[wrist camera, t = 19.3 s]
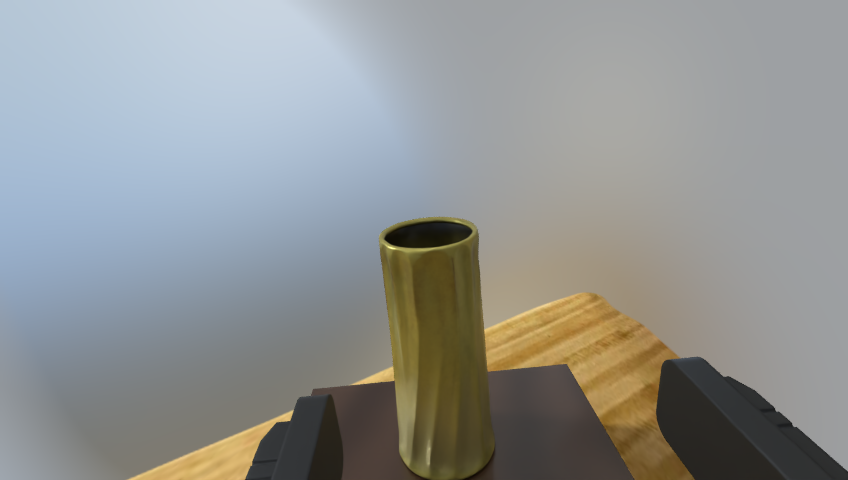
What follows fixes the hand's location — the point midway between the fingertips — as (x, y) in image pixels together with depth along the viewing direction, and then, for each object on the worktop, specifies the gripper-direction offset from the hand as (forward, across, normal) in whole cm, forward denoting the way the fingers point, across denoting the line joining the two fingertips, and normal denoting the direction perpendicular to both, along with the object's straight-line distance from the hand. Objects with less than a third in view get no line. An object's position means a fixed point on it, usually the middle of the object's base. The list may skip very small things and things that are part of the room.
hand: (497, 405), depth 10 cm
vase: (+13, +1, +14) cm, 19 cm away
